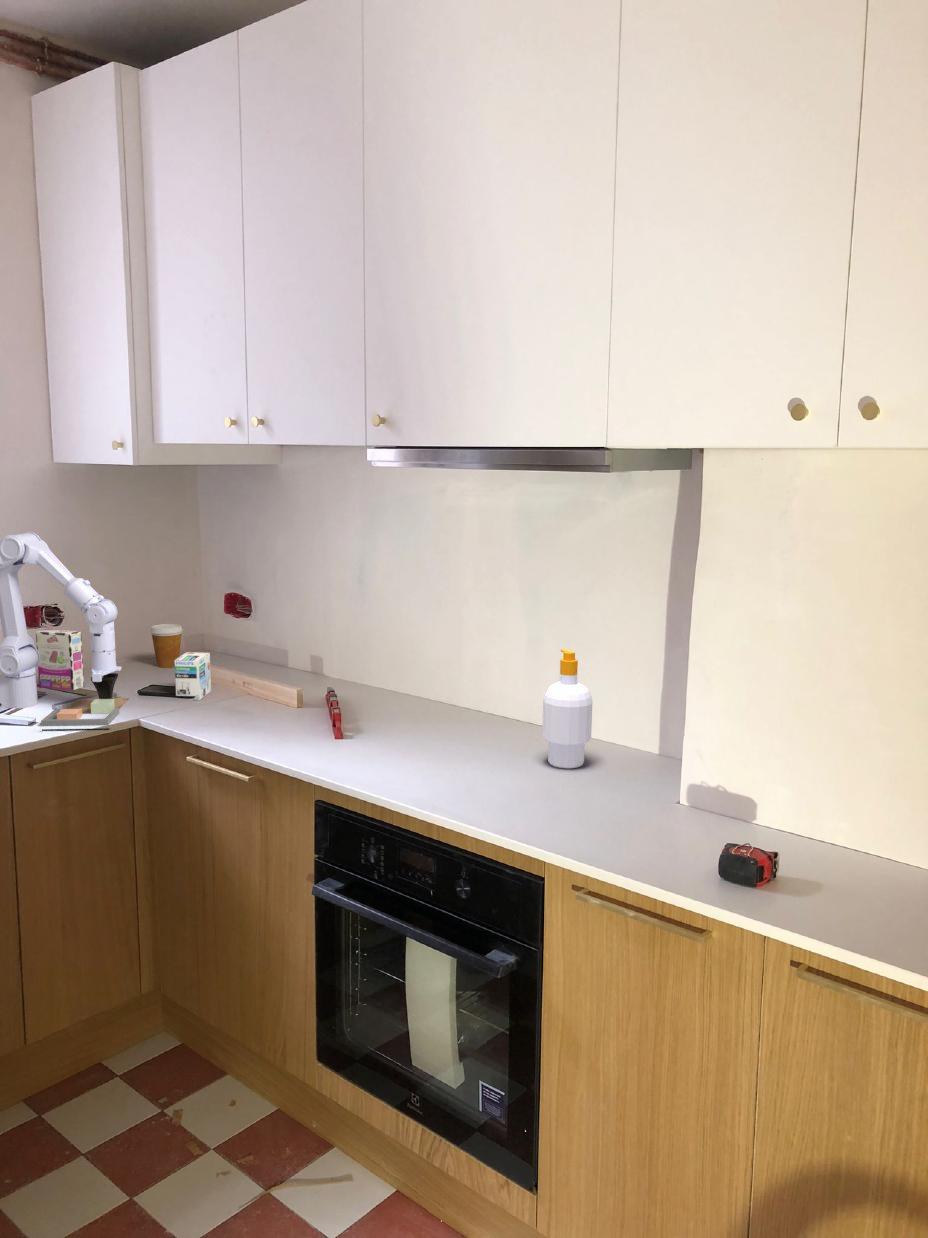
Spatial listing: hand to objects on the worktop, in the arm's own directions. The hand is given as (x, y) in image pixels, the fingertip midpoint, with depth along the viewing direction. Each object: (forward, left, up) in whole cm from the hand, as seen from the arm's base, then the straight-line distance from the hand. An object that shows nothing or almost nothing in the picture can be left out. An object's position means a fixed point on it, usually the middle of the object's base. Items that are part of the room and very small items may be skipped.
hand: (106, 703), depth 243 cm
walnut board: (-3, +2, -2) cm, 4 cm away
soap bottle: (+106, -47, -2) cm, 116 cm away
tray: (-3, -10, -2) cm, 11 cm away
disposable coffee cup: (+4, +53, -2) cm, 53 cm away
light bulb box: (+18, +16, -2) cm, 25 cm away
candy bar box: (-18, +23, -2) cm, 29 cm away
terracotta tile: (-6, -9, -2) cm, 11 cm away
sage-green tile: (0, -3, -1) cm, 3 cm away
